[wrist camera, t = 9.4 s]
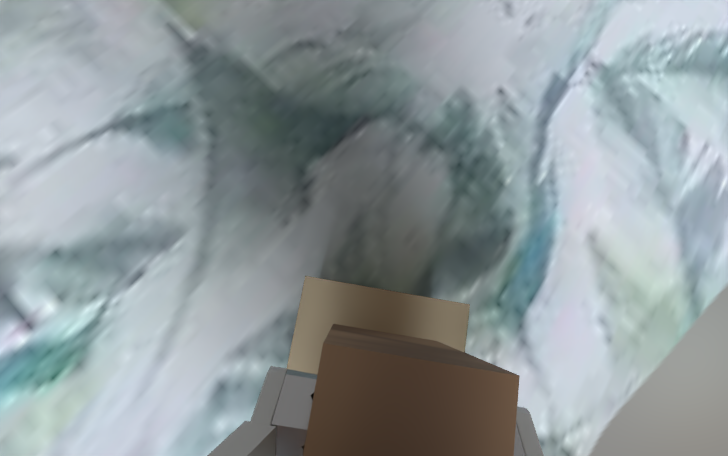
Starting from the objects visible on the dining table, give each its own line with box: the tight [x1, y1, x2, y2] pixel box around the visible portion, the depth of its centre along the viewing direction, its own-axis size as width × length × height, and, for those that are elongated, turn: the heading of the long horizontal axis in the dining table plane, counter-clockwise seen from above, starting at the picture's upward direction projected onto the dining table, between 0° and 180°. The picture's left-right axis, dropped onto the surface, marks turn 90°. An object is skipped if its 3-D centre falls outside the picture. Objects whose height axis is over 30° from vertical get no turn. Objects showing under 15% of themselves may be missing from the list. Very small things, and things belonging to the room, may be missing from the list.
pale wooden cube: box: [287, 276, 470, 374], centre depth 21 cm, size 8×8×8 cm
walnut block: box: [303, 324, 519, 456], centre depth 11 cm, size 4×4×8 cm
